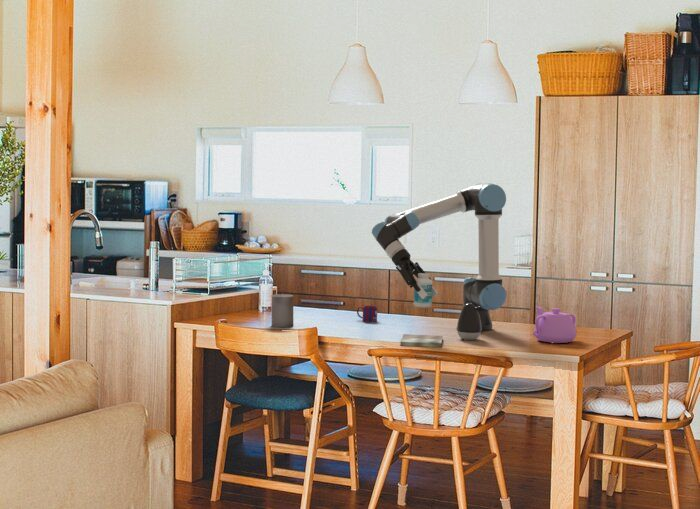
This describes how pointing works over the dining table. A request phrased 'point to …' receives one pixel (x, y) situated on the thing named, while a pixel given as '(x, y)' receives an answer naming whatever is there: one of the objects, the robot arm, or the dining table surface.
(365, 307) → the mug
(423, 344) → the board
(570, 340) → the teapot
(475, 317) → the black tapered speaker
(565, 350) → the dining table surface
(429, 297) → the pill bottle
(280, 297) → the pillar candle
